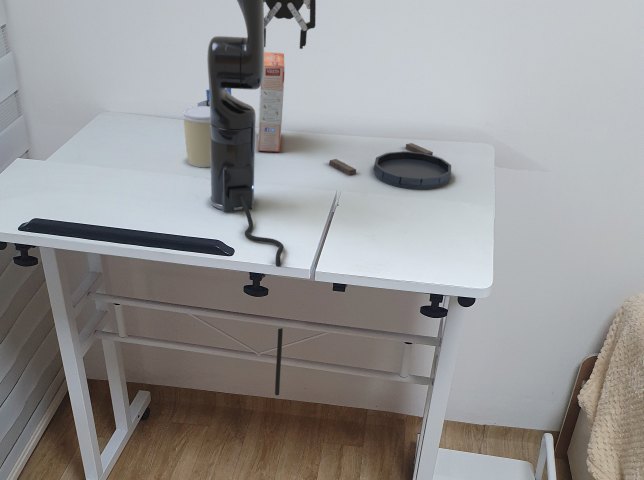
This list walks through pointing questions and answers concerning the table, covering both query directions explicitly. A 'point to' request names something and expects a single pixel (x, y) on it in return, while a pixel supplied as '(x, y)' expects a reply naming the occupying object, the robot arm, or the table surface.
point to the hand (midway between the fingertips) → (282, 47)
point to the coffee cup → (198, 135)
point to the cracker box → (271, 103)
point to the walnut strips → (351, 170)
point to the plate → (412, 170)
